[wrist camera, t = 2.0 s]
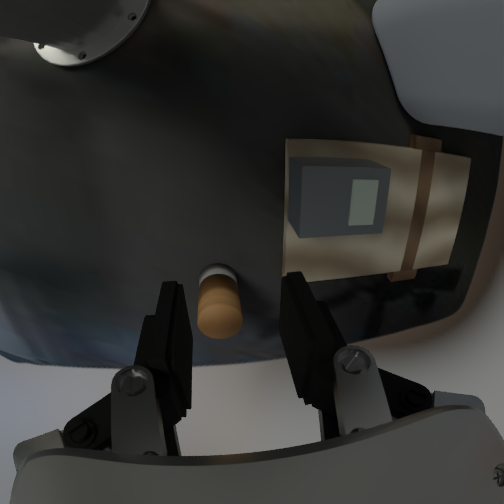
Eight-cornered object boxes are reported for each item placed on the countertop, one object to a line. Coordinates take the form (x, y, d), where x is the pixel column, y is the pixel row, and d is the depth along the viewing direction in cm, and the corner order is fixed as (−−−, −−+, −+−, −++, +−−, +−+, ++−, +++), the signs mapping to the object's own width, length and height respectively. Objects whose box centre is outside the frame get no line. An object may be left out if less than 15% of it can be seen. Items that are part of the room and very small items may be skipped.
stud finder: (289, 157, 24) (303, 166, 20) (369, 159, 25) (392, 169, 21) (287, 220, 27) (299, 239, 23) (362, 216, 28) (383, 234, 24)
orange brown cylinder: (197, 264, 30) (194, 307, 24) (235, 261, 30) (241, 303, 24) (201, 295, 32) (200, 340, 26) (237, 292, 32) (243, 336, 26)
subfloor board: (285, 122, 24) (289, 123, 23) (466, 145, 26) (473, 147, 25) (281, 289, 33) (283, 295, 31) (440, 268, 35) (445, 273, 34)
